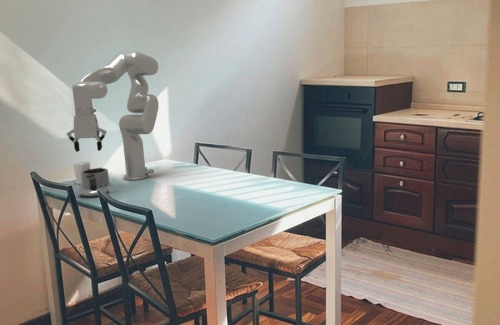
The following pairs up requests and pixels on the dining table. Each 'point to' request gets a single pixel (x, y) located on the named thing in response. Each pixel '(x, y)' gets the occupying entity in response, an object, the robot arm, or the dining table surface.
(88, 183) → the pot
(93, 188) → the lid
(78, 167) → the white cup
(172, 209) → the dining table surface
